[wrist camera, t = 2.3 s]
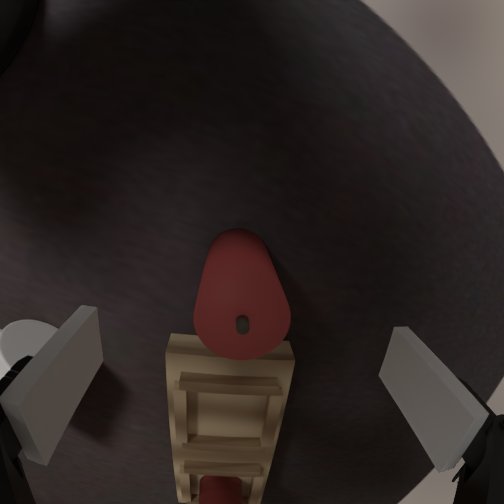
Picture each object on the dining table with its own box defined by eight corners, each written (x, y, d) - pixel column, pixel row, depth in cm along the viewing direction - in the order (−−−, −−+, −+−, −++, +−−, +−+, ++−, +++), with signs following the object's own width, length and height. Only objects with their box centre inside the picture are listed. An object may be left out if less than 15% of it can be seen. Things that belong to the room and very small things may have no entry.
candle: (209, 225, 24) (193, 276, 13) (271, 231, 24) (301, 284, 14) (205, 284, 25) (190, 366, 15) (264, 288, 25) (285, 371, 15)
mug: (94, 348, 26) (61, 402, 19) (75, 409, 28) (50, 459, 21) (-2, 286, 24) (-51, 320, 16) (-9, 355, 26) (-44, 393, 18)
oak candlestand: (171, 333, 26) (134, 462, 13) (289, 340, 27) (329, 469, 14) (180, 484, 32) (172, 572, 19) (257, 488, 33) (267, 575, 20)
